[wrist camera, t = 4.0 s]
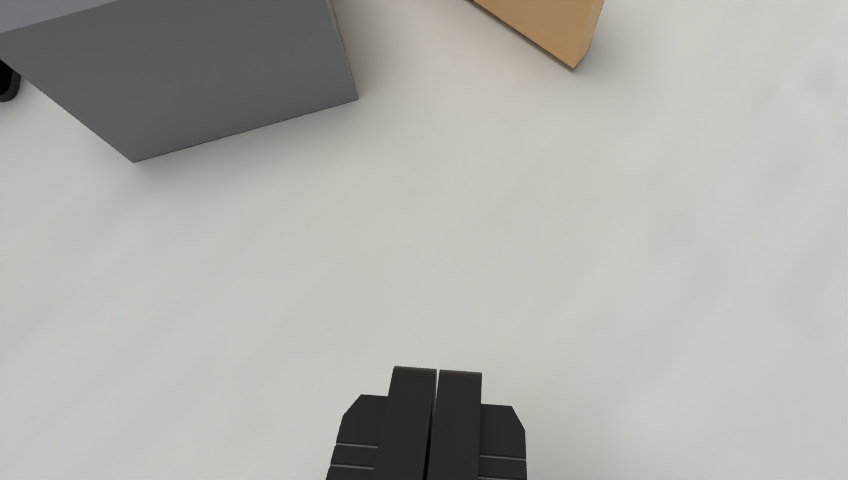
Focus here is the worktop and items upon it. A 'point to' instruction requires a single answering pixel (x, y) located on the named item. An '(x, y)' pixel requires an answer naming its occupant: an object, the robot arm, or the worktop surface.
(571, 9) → the side door
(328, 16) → the grey matte box
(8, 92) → the end cap
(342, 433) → the robot arm
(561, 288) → the worktop surface
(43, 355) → the worktop surface
